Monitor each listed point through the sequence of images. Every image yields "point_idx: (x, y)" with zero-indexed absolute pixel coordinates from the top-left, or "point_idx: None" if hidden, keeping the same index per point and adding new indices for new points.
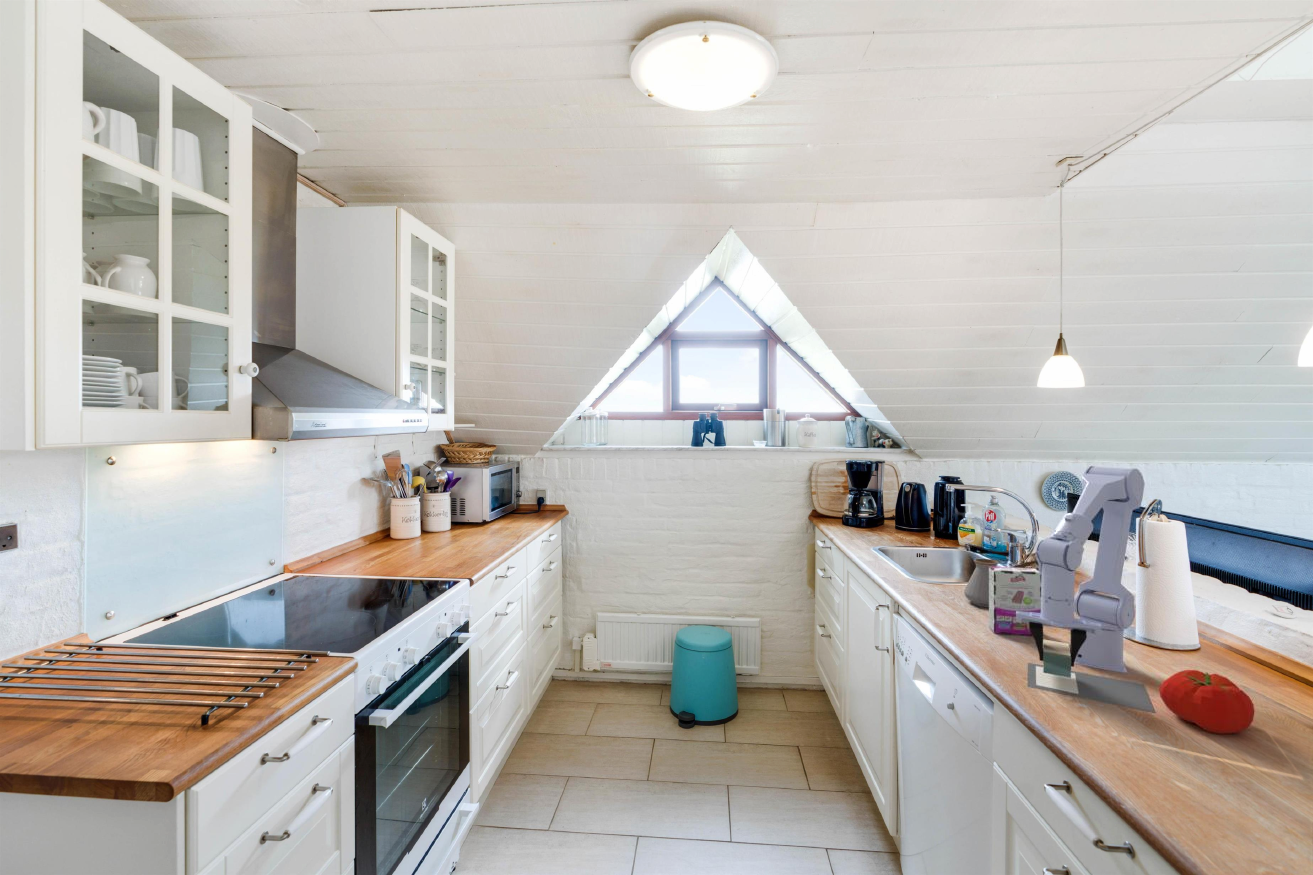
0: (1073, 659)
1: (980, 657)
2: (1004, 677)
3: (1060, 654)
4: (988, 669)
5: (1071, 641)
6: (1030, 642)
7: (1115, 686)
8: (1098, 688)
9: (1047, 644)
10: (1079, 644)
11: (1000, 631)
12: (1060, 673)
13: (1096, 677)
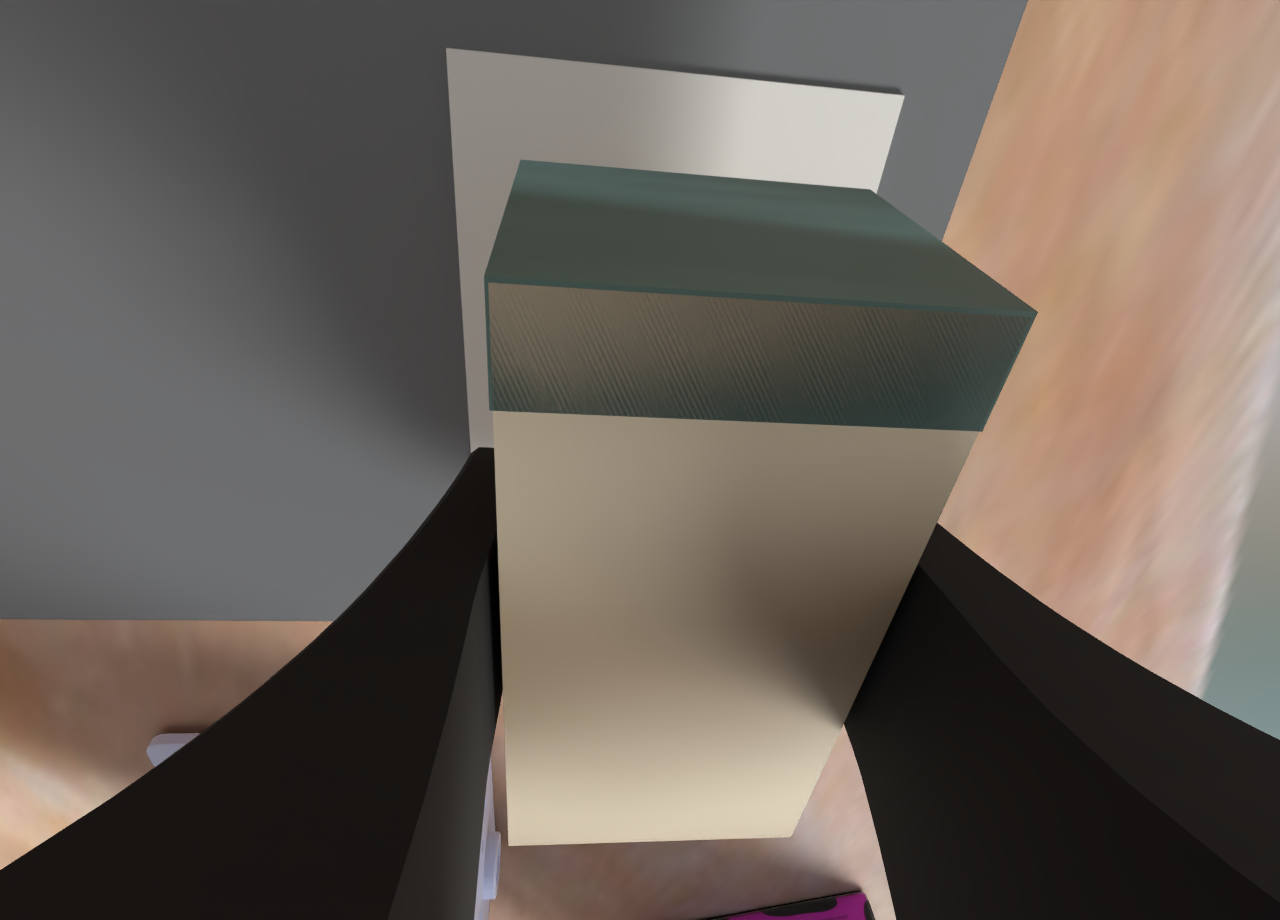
0: (460, 500)
1: (1129, 579)
2: (1142, 230)
3: (689, 401)
4: (1203, 368)
5: (445, 802)
6: (697, 872)
7: (148, 477)
8: (269, 353)
9: (791, 725)
10: (249, 736)
11: (836, 910)
12: (661, 178)
13: (321, 586)
